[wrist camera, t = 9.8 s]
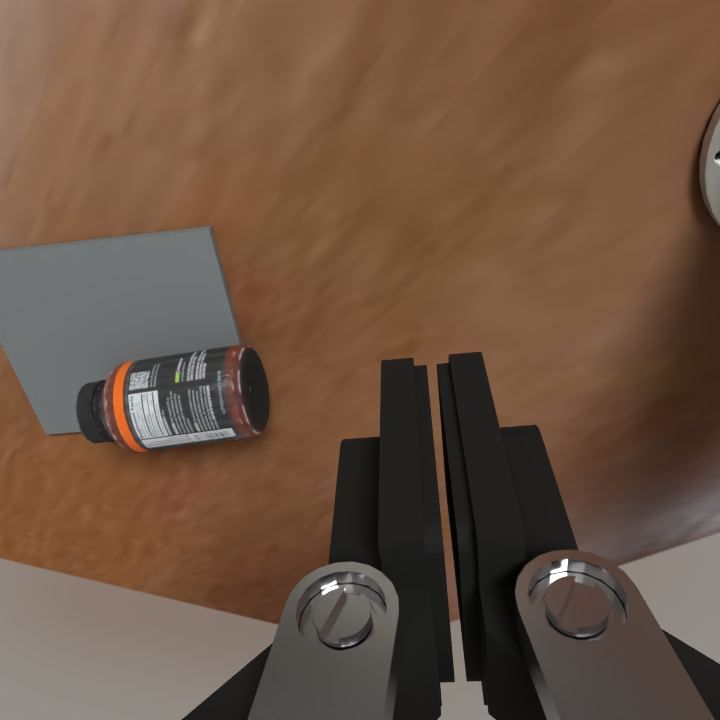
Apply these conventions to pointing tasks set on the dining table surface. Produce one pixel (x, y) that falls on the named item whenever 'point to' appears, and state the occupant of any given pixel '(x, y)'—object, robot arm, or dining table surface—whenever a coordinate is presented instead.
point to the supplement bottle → (177, 400)
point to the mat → (108, 310)
